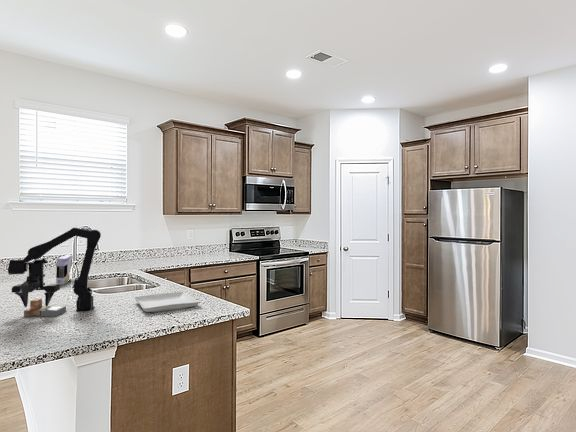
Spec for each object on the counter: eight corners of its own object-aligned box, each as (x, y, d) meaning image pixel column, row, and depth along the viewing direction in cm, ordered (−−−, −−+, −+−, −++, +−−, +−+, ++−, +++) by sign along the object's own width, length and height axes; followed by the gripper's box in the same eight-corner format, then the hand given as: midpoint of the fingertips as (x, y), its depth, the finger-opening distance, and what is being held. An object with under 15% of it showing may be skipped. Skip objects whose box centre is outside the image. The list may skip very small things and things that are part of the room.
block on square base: (49, 311, 177) (49, 297, 177) (40, 315, 169) (39, 301, 169) (34, 311, 176) (34, 297, 176) (23, 316, 169) (23, 301, 168)
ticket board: (65, 311, 178) (65, 305, 178) (56, 316, 170) (56, 310, 170) (50, 311, 177) (50, 306, 177) (40, 316, 169) (40, 310, 169)
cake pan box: (63, 285, 240) (63, 258, 239) (54, 285, 238) (54, 258, 238) (73, 279, 258) (73, 254, 258) (65, 280, 257) (65, 254, 257)
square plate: (143, 316, 172) (143, 307, 172) (132, 303, 195) (132, 296, 195) (199, 308, 186) (199, 300, 186) (184, 297, 209) (184, 290, 209)
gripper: (3, 276, 164) (3, 311, 164) (47, 276, 165) (47, 310, 165) (19, 272, 175) (19, 305, 175) (60, 272, 176) (60, 304, 177)
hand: (36, 306), depth 173 cm, fingers open, 9 cm apart
